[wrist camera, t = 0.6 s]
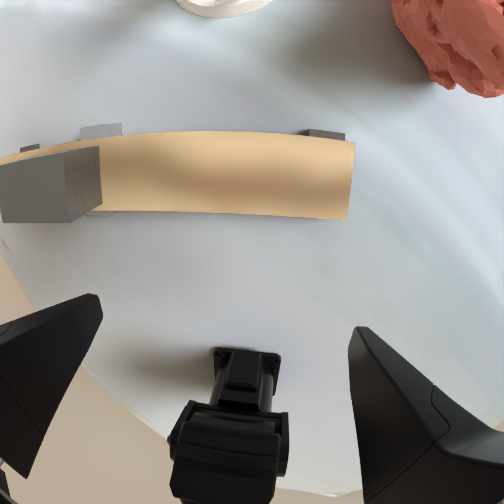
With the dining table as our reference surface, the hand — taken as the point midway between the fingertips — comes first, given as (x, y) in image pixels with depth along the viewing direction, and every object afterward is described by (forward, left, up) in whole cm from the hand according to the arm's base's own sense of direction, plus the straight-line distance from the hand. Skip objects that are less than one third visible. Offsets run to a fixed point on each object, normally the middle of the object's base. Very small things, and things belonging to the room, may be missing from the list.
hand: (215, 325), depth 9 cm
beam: (+3, +9, -10) cm, 14 cm away
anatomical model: (+17, -13, -13) cm, 25 cm away
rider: (+3, +13, -8) cm, 16 cm away
